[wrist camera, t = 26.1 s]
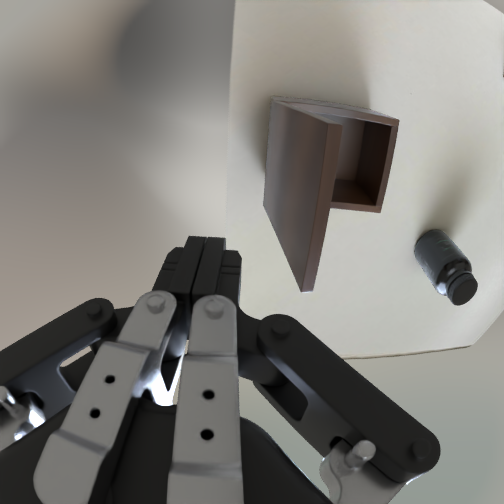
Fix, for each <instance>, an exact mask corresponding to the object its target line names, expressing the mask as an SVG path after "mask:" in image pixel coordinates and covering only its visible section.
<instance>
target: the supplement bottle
mask: <svg viewBox="0 0 504 504" xmlns="http://www.w3.org/2000/svg"><path fill="white" fill-rule="evenodd" d="M415 257H416V260H417V261H418V263H419V264H420V266H421V267H422V269H423V271H424V272H425V274H426V275H427V277H428V278H429V280H430V281H431V283H432V284H433V286H434V288H435V289H436V290H437V292H438V293H440V294H442V295H445V296H447V297H448V298H449V299H450V300H451V302H452V303H453V304H454V305H457V306H458V305H463V304H465V303H467V302H468V301H469V300H470V299H471V298H472V297H473V296H474V294H475V293H476V291H477V287H478V283H477V281H476V279H475V278H474V276H473V275H472V267H471V263H470V261H469V260H468V259H467V257H466V256H465V255H464V254H463V253H462V251H461V250H460V249H459V248H458V247H457V246H456V245H455V243H454V242H453V241H452V240H451V239H450V238H449V237H448V236H447V235H446V234H445V233H444V232H443V231H441V230H432V231H429V232H427V233H425V234H424V235H423V236H422V237H421V238H420V239H419V241H418V243H417V245H416V248H415Z"/></svg>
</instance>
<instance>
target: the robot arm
mask: <svg viewBox="0 0 504 504" xmlns="http://www.w3.org/2000/svg"><path fill="white" fill-rule="evenodd" d="M241 264H242V258H241V256H240V254H239V253H238V251H235V250H226V238H219V237H208V238H207V237H199V236H189V237H188V239H187V242H186V244H185V246H184V248H183V247H175V248H174V249H173V250H172V251H171V252H169V253H168V255H167V257H166V259H165V261H164V264H163V266H162V268H161V270H160V272H159V275H158V277H157V279H156V282H155V284H154V286H153V289H152V291H151V292H148V293H145V294H144V295H142V296H141V297H140V298H139V299H138V301H137V303H136V304H135V306H133V307H128V308H121V309H114V307H113V304H112V303H111V302H110V301H109V300H107V299H103V298H95V299H91V300H89V301H86V302H84V303H83V304H81V305H79V306H77V307H76V308H74V309H72V310H70V311H68V312H67V313H65V314H63V315H61V316H60V317H58V318H56V319H54V320H53V321H51V322H49V323H47V324H46V325H44V326H42V327H41V328H39V329H37V330H36V331H34V332H32V333H30V334H29V335H27V336H25V337H23V338H22V339H20V340H18V341H17V342H15V343H13V344H12V345H10V346H8V347H7V348H5V349H3V350H2V351H0V504H388V503H389V502H390V501H391V500H392V498H393V497H394V496H395V495H396V494H397V493H398V492H399V491H400V490H401V488H402V487H403V486H404V485H405V484H406V483H408V482H410V481H412V480H414V479H416V478H417V477H419V476H421V475H423V474H424V473H426V472H428V471H429V470H431V469H432V468H433V467H434V466H435V465H436V464H437V462H438V460H439V457H440V444H439V441H438V439H437V438H436V436H435V435H434V434H433V433H432V432H431V431H429V430H428V429H427V428H426V427H424V426H423V425H422V424H421V423H419V422H418V421H417V420H416V419H414V418H413V417H412V416H411V415H409V414H408V413H407V412H406V411H404V410H403V409H402V408H401V407H399V406H398V405H397V404H396V403H395V402H393V401H392V400H391V399H390V398H389V397H387V396H386V395H385V394H384V393H382V392H381V391H380V390H379V389H378V388H376V387H375V386H374V385H373V384H372V383H370V382H369V381H368V380H367V379H365V378H364V377H363V376H362V375H361V374H359V373H358V372H357V371H356V370H355V369H353V368H352V367H351V366H350V365H349V364H348V363H346V362H345V361H344V360H343V359H342V358H340V357H339V356H338V355H337V354H336V353H334V352H333V351H332V350H331V349H330V348H329V347H327V346H326V345H325V344H324V343H323V342H321V341H320V340H319V339H318V338H317V337H316V336H314V335H313V334H312V333H311V332H310V331H309V330H307V329H306V328H305V327H304V326H303V325H302V324H300V323H299V322H298V321H297V320H296V319H294V318H292V317H290V316H288V315H283V314H273V315H269V316H267V317H265V318H263V319H262V320H258V319H255V318H252V317H250V316H248V315H246V314H245V313H244V312H243V311H242V310H241V309H240V307H239V300H240V288H241ZM186 340H189V344H188V351H187V354H185V351H184V349H185V345H186ZM88 346H90V348H91V350H92V351H90V352H89V353H87V354H85V355H84V356H82V357H80V358H79V359H78V360H76V361H74V362H72V363H71V364H69V365H67V366H65V367H60V365H61V363H62V362H63V361H65V360H66V359H68V358H70V357H71V356H73V355H75V354H76V353H78V352H79V351H81V350H83V349H84V348H86V347H88ZM180 371H181V376H180V385H179V393H178V402H177V405H172V398H173V393H174V390H175V386H176V383H177V380H178V377H179V374H180ZM238 376H240V377H243V378H246V379H249V380H252V381H253V384H254V386H255V387H256V388H257V389H258V391H259V392H260V393H261V394H262V395H263V396H264V397H265V398H266V399H267V400H268V401H269V403H270V404H271V405H272V406H273V407H274V408H275V409H276V410H277V411H278V412H279V413H280V414H281V415H282V416H283V417H284V418H285V419H286V420H287V421H288V422H289V423H290V425H292V427H293V428H294V429H295V430H296V431H297V432H298V433H299V434H300V435H301V436H302V437H303V438H304V439H305V440H307V442H308V443H309V444H310V445H312V446H313V447H314V448H315V449H316V450H317V451H318V452H319V453H320V454H321V455H322V456H323V457H324V459H323V460H322V462H321V465H320V476H321V478H322V480H323V482H324V483H325V484H326V485H327V487H328V489H329V492H330V500H329V499H328V498H327V497H326V496H325V495H324V494H323V493H322V492H321V491H320V490H319V489H318V488H317V487H316V485H314V483H313V482H311V480H310V479H309V478H308V477H307V476H306V475H305V474H304V473H303V472H302V471H301V470H300V469H299V468H298V466H297V465H296V464H295V463H294V462H293V461H292V460H291V459H290V458H289V457H288V455H287V454H285V452H284V451H283V450H282V449H281V448H280V446H279V445H278V444H277V443H276V442H275V441H274V440H273V438H272V437H271V436H270V435H269V434H268V433H267V432H265V431H264V430H263V429H262V428H261V427H259V426H258V425H256V424H255V423H253V422H251V421H250V420H248V419H246V418H243V417H240V413H239V383H238V382H239V379H238Z"/></svg>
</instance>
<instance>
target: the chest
mask: <svg viewBox="0 0 504 504" xmlns="http://www.w3.org/2000/svg"><path fill="white" fill-rule="evenodd" d="M271 100H273V101H281V102H284V103H287V104H290V105H293V106H296V107H298V108H301V109H304V110H307V111H309V112H312V113H315V114H317V115H320V116H322V117H325V118H327V119H330V120H332V121H335V122H337V123H339V124H342V125H343V129H342V136H341V143H340V150H339V157H338V163H337V170H336V176H335V182H334V188H333V194H332V200H331V205H330V208H334V209H345V210H355V211H364V212H374V213H380V212H381V208H382V204H383V200H384V196H385V192H386V187H387V183H388V178H389V174H390V169H391V164H392V159H393V154H394V149H395V144H396V138H397V132H398V126H399V120H398V119H396V118H393V117H390V116H387V115H385V114H382V113H379V112H376V111H373V110H371V109H366V108H361V107H355V106H350V105H344V104H338V103H331V102H325V101H317V100H310V99H301V98H292V97H281V96H271Z"/></svg>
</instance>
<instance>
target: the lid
mask: <svg viewBox="0 0 504 504" xmlns="http://www.w3.org/2000/svg"><path fill="white" fill-rule="evenodd" d="M342 129H343V125H342V124H339V123H337V122H335V121H332V120H330V119H327V118H325V117H322V116H320V115H317V114H315V113H312V112H309V111H307V110H304V109H301V108H298V107H296V106H293V105H290V104H287V103H284V102H281V101H273V100H271V106H270V120H269V134H268V148H267V162H266V175H265V188H264V201H263V206H264V208H265V210H266V212H267V215H268V217H269V219H270V221H271V224H272V226H273V228H274V231H275V233H276V235H277V237H278V240H279V242H280V244H281V247H282V249H283V251H284V254H285V256H286V258H287V261H288V263H289V265H290V268H291V270H292V272H293V275H294V277H295V279H296V282H297V284H298V286H299V289H300V291H301V292H312V291H313V288H314V284H315V279H316V275H317V270H318V266H319V261H320V256H321V252H322V247H323V242H324V237H325V232H326V227H327V221H328V216H329V211H330V205H331V200H332V194H333V188H334V182H335V176H336V170H337V163H338V157H339V150H340V143H341V136H342Z"/></svg>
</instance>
